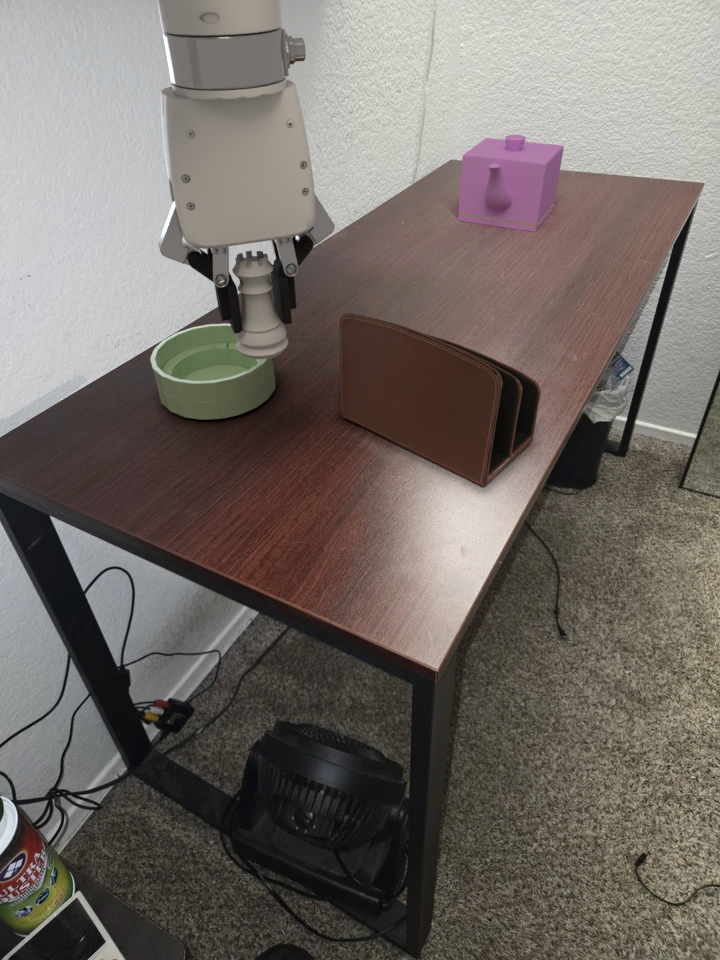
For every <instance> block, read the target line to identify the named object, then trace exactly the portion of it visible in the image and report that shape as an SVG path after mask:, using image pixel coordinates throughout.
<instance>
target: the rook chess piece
mask: <svg viewBox="0 0 720 960" xmlns="http://www.w3.org/2000/svg"><path fill="white" fill-rule="evenodd" d="M255 253H256V255H253V250H245V257H244V253H242V252H239V253H238V254H236V257H235V264H234V265H233V267H232V269H231V271H232V273H233V274H234V276H236V278H237V279H238V280H239V284H238V286H237V291H238V292H239V293H240V299H241V319H242V326H243V331H241V333H236V334H235V336H236V339H237V344H236V347H237V349H238V351H240V352H241V353H242V354H243V355H244V356H246V357H248V358H252V359H268V358H275V357H277V356H279V355H281V354H282V353H283V352H284V351H285V350H286V348H287V347H288V345H289V339H288V337H287V329H286V327H285V324H284V323H282V321H281V320H280V318H279V316H278V315H277V313H276V311H275V308H274V300H273V295H272V287H273V285H272V281H271V280H270V277H271V272H272V271H273V268H274V267H273V264H272V262H271V261H270V260H269V255H268V253H264V251H262V250H257V251H255Z"/></svg>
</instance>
